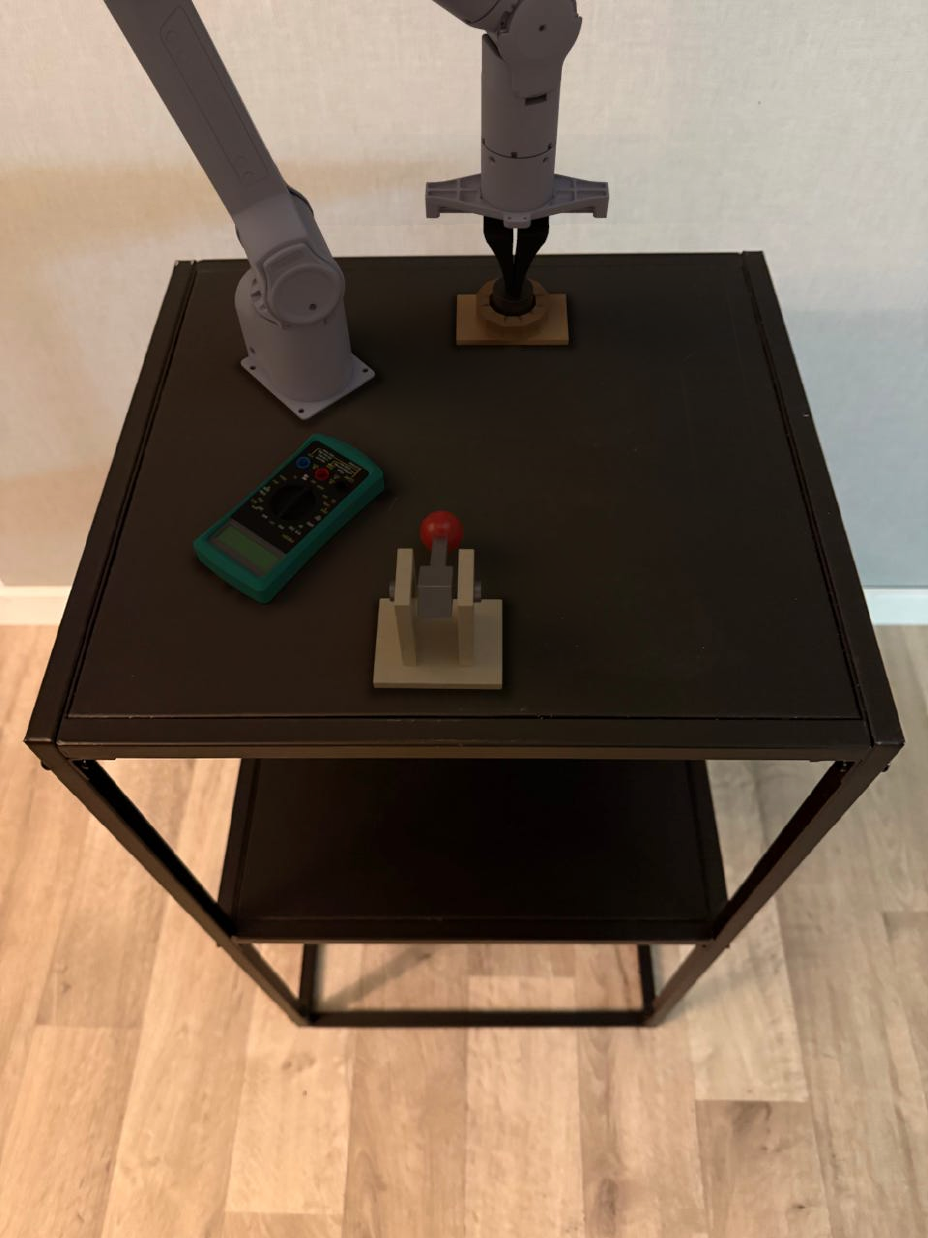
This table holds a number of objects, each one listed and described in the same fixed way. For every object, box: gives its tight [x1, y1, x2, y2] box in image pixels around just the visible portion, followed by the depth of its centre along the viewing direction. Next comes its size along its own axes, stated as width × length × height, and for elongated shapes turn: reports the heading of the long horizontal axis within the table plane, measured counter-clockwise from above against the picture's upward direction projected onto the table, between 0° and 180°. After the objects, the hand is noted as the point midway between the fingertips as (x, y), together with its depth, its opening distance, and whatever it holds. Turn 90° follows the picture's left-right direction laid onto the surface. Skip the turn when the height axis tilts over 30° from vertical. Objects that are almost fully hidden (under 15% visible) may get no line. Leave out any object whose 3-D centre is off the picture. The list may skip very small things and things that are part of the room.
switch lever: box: [417, 510, 465, 618], centre depth 66 cm, size 12×3×3 cm, turn 179°
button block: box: [455, 277, 570, 346], centre depth 85 cm, size 10×6×2 cm, turn 89°
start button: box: [492, 275, 534, 317], centre depth 83 cm, size 4×4×2 cm
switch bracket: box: [372, 548, 503, 690], centre depth 64 cm, size 7×9×9 cm
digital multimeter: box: [192, 432, 386, 604], centre depth 73 cm, size 7×15×3 cm, turn 143°
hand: (513, 284), depth 82 cm, fingers closed
